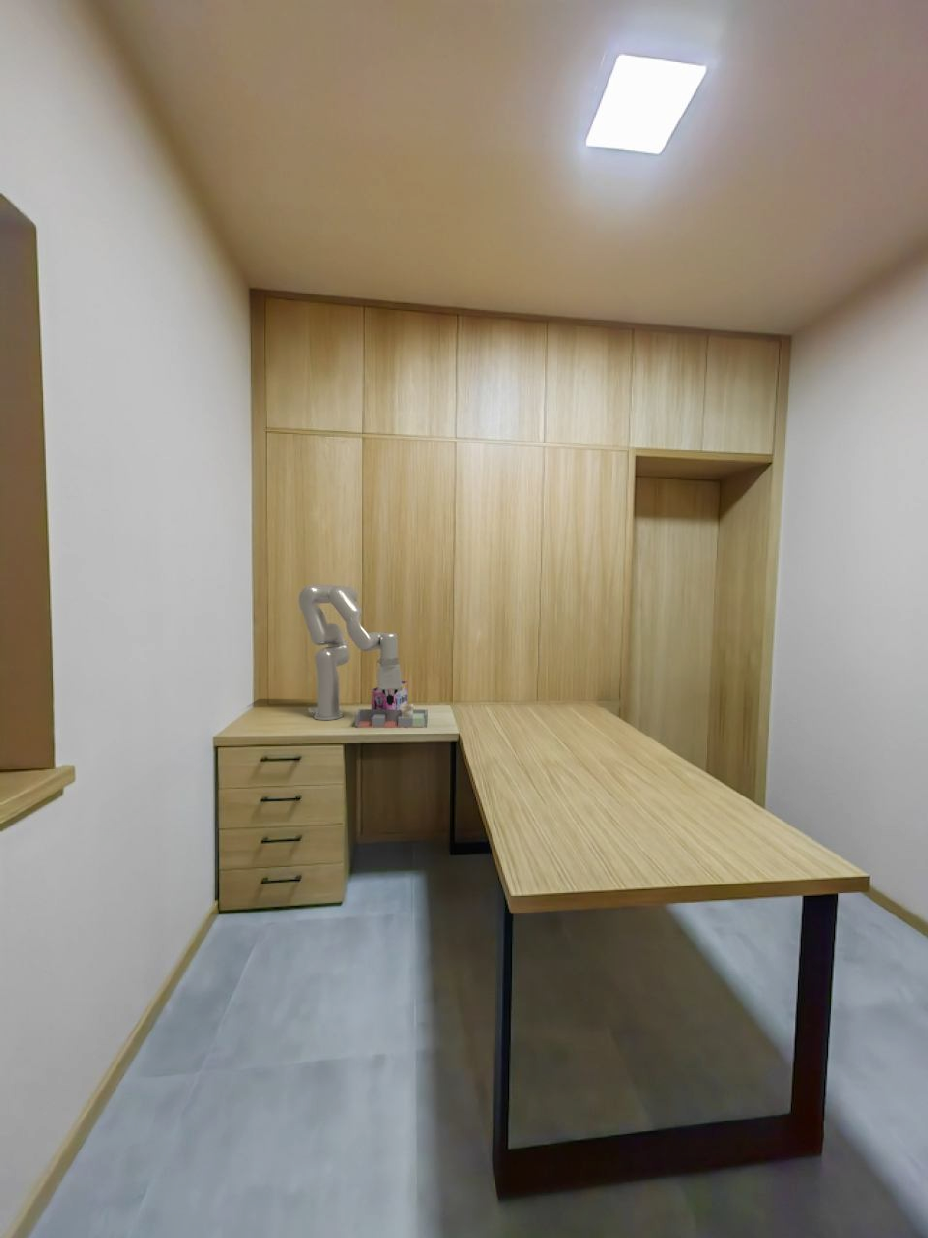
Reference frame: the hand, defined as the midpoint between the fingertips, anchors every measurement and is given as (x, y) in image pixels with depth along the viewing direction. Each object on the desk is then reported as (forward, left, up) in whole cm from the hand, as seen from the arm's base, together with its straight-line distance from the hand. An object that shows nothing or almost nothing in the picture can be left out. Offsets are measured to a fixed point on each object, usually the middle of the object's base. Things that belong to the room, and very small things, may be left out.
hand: (390, 704), depth 209 cm
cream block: (+7, 0, -5) cm, 9 cm away
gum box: (-2, +19, -9) cm, 21 cm away
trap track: (+1, 0, -9) cm, 9 cm away
